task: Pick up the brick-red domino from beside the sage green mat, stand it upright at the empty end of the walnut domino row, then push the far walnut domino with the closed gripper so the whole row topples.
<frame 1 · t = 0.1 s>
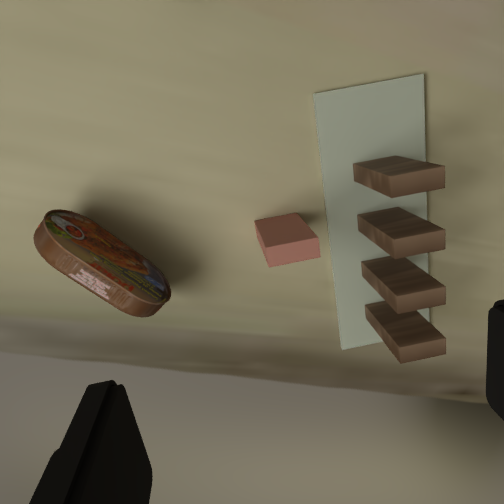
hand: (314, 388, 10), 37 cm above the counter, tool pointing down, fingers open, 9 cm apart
tin: (115, 251, 46), on the counter
domino 5: (276, 224, 47), on the counter
domino 4: (374, 168, 45), resting on mat
mat: (376, 225, 48), on the counter
domino 1: (383, 307, 51), resting on mat
domino 3: (378, 218, 47), resting on mat
domino 2: (381, 265, 49), resting on mat
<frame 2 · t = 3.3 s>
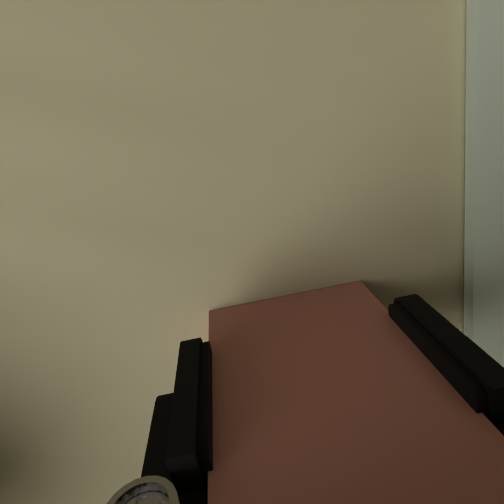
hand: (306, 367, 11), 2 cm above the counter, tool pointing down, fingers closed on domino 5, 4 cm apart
domino 5: (289, 322, 13), on the counter, touching gripper
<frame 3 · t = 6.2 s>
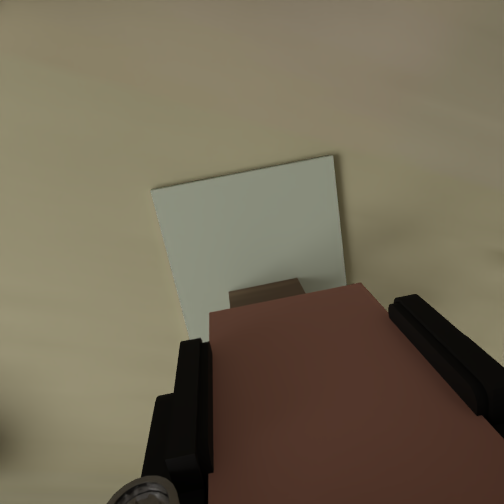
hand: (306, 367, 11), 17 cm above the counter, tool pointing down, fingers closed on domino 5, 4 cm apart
domino 5: (289, 324, 13), point 15 cm above the counter, touching gripper
domino 4: (265, 297, 29), resting on mat
mat: (278, 373, 31), on the counter
when the fingers open (4 cm above the counter, at t = 9.1 s): domino 5 stays where it is, resting on mat.
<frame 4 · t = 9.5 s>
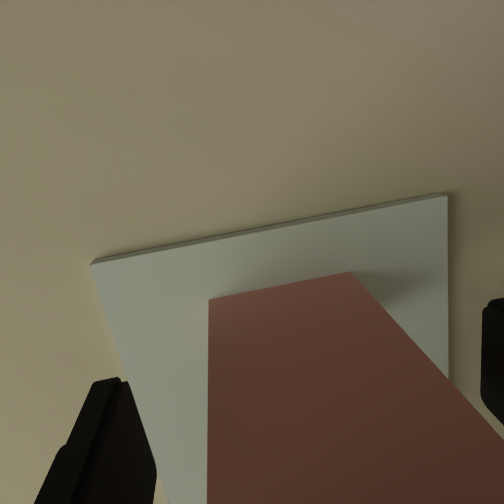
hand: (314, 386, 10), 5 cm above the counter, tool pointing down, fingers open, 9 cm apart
domino 5: (283, 310, 14), resting on mat
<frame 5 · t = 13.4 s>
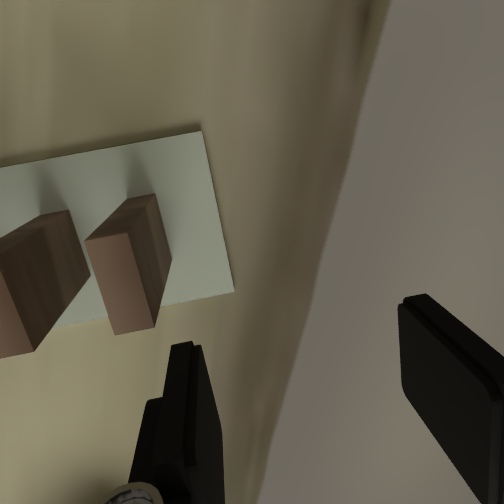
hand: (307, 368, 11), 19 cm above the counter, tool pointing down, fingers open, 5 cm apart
domino 1: (150, 230, 28), resting on mat
domino 2: (66, 246, 28), resting on mat
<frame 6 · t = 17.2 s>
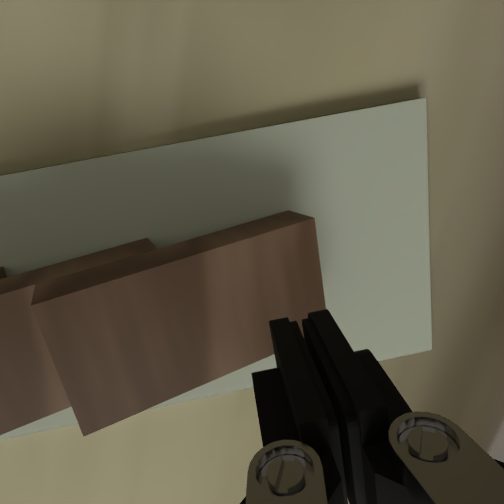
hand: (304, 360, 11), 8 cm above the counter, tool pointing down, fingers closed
mat: (80, 302, 18), on the counter
domino 1: (308, 270, 17), point 1 cm above the counter, tilted 71°, touching domino 2, mat
domino 2: (167, 298, 17), point 1 cm above the counter, tilted 71°, touching domino 1, domino 3, mat
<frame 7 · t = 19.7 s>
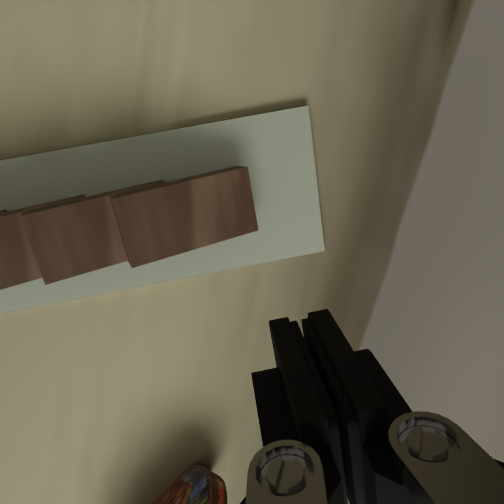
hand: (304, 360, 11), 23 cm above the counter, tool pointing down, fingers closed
tin: (174, 497, 43), on the counter
mat: (123, 217, 32), on the counter
domino 1: (248, 197, 31), point 1 cm above the counter, tilted 71°, touching domino 2, mat
domino 3: (94, 226, 31), point 1 cm above the counter, tilted 71°, touching domino 2, domino 4, mat
domino 2: (171, 212, 31), point 1 cm above the counter, tilted 71°, touching domino 1, domino 3, mat
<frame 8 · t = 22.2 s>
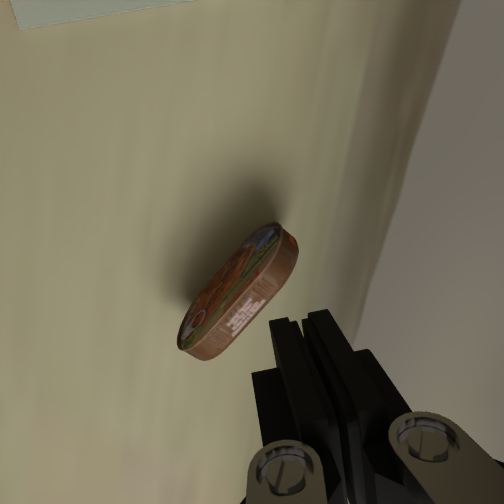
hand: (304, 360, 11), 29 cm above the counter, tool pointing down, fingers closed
tin: (233, 274, 42), on the counter
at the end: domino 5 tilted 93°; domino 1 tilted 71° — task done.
